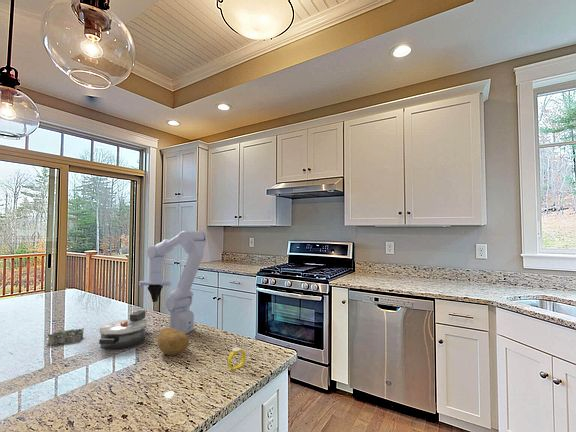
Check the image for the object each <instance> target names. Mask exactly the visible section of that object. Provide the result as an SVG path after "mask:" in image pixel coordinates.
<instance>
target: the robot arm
mask: <svg viewBox="0 0 576 432" xmlns="http://www.w3.org/2000/svg"><path fill="white" fill-rule="evenodd" d="M207 242H208V238H207V234H206V233H205V231H204V230H182V231H180V232H179V233H178V234H177V235H175V236H174V237H172V238H171V239H170V238H169V239H167V238H164V239H162V241H161V242H158V243H156V244H155V245H149V246H148V247H147V249H146V255H147V258H148V260H149V261H148V280H140V281H138V286H140V287H141V286H147V290H148V292H149V294H150V297H151V300H152V303H156V302H158V301H159V296H160V293H161V291H162V290H163V287H165V286H166V287H167V286H168V287H171V286H172V285H173V281H172V280H163V264H164V260H165V257H166V254H169V253H170V252H172V251H173V250H174V249H175V247H177V246H178V245H181V246H182V248H183V250H184V251H185V253H186V254H188V255H187V259H186V262H185V265H184V267H183V270H182V272H181V276H180V278H179V281H178V283H177V286H176V287H175V288H174V289H173V290H172V291H170V293H169V295H168V296H167V297H166V299H165V308H166V309H167V311H168V312H169V328H174V329H177V330H179V331H181V332H183V333H184V334H185V335H187V334H188V333H190V332H192V331H194V330H196V329H195V325H194V324H195V314H194V312H193V311H191V310H189V309H190V307H191V305H192V303H193V296H194V292H193V290H191V289H192V287H193V283H194V281H195V277H197V273H198V270H199V267H200V266H201V262H202V261H203V260H202V259H203V258H204V251H205V246H206V244H207Z"/></svg>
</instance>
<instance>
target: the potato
mask: <svg viewBox="0 0 576 432" xmlns="http://www.w3.org/2000/svg"><path fill="white" fill-rule="evenodd" d="M156 339H157V341H156V343H157V346H158V349H159V351H160V352H161V353H162V354H163V353H164V354H165V355H167V356H175V355H178V356H179V355H180V354H182V353H184V352H185V351H186V350H187V349H188V348H189V344H190V341H189V337H188V336H187V334H184V333H183V332H181V331H179V330H177V329H174V328H170V327H165V328H162V329H161V330H160V331H159V333H158V334H157V338H156Z"/></svg>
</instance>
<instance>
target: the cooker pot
mask: <svg viewBox="0 0 576 432" xmlns="http://www.w3.org/2000/svg"><path fill="white" fill-rule="evenodd" d="M143 320H144V321H146V322H147V320H146V319H143ZM98 340H99V341H98V342H99V343H98V344H99V345H100V348H101V349H102V350H106V351H120V349H121V350H126V348H127V349H130V348H133V347H136V346H139V345H142V344H143V343H145V340H146V328H144V329H143V330H141V331H138V332H135V333H131V334H125V335H116V336H108V335H102V334H100V339H98Z"/></svg>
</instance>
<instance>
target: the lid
mask: <svg viewBox="0 0 576 432" xmlns="http://www.w3.org/2000/svg"><path fill="white" fill-rule="evenodd" d="M146 311H147V310H143V309H142V310H141V309H139V310H137V311H134V312H133V313H131V314H130V315H129V319H121V320H116V321H112V322H109V323H106V324H104V325H102V326H101V327H99V334H100V335H101V334H102V335H108V336H116V335H125V334H131V333H135V332H138V331H141V330H143V329H144V328H145V329H147V327H148V322H147V320H146V321H144V320H145V318H146Z"/></svg>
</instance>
